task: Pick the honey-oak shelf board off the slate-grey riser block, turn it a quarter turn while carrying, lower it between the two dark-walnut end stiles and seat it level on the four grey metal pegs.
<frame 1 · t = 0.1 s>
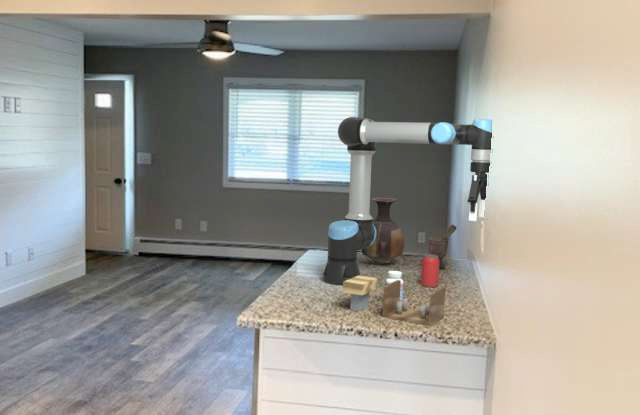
hand: (477, 218, 224), 28 cm above the worktop, fingers open, 13 cm apart
beer can: (429, 286, 235), on the worktop
vase: (381, 264, 274), on the worktop
shelf board: (360, 290, 201), point 6 cm above the worktop, touching riser block
peg frame: (413, 317, 192), on the worktop
pill bottle: (393, 304, 207), on the worktop
riser block: (359, 307, 201), on the worktop
mortar and pestle: (440, 268, 271), on the worktop
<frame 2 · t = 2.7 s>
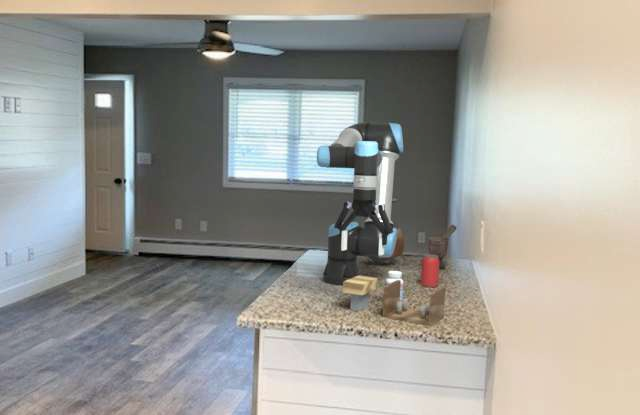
hand: (362, 252, 199), 19 cm above the worktop, fingers open, 13 cm apart
nothing on the worktop moved.
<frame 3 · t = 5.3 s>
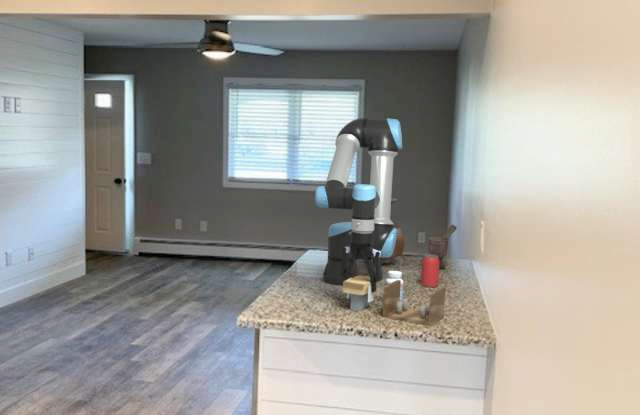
hand: (359, 299, 201), 3 cm above the worktop, fingers closed on shelf board, 7 cm apart
shelf board: (360, 290, 201), point 6 cm above the worktop, touching gripper, riser block
everything else where it was.
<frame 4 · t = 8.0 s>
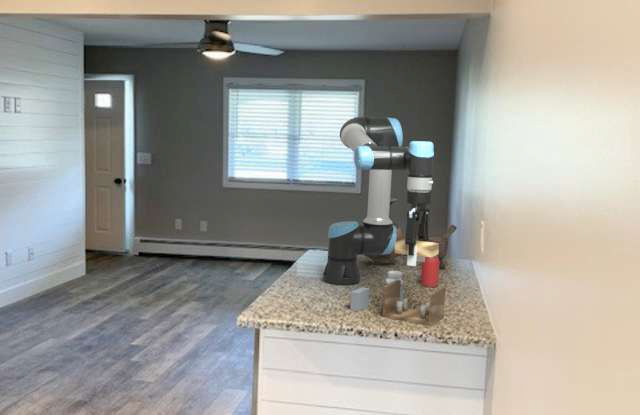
hand: (416, 263, 190), 18 cm above the worktop, fingers closed on shelf board, 7 cm apart
shelf board: (416, 253, 189), point 21 cm above the worktop, touching gripper
everything else where it was.
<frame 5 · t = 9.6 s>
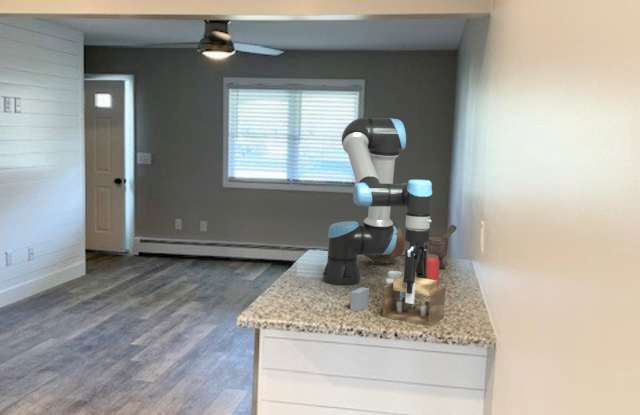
hand: (414, 300, 191), 6 cm above the worktop, fingers closed on shelf board, 7 cm apart
shelf board: (414, 290, 191), point 9 cm above the worktop, touching gripper
everything else where it was.
when the fingers open (3 cm above the worktop, at t = 10.9 s): shelf board drops 1 cm, resting on peg frame.
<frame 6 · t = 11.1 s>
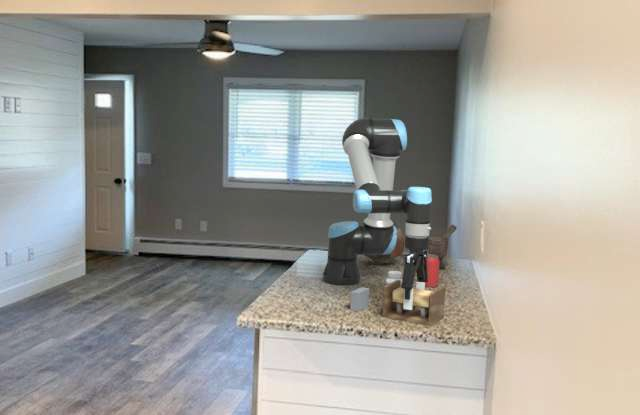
hand: (413, 305, 192), 4 cm above the worktop, fingers open, 10 cm apart
shelf board: (414, 301, 191), point 5 cm above the worktop, touching peg frame
everything else where it was.
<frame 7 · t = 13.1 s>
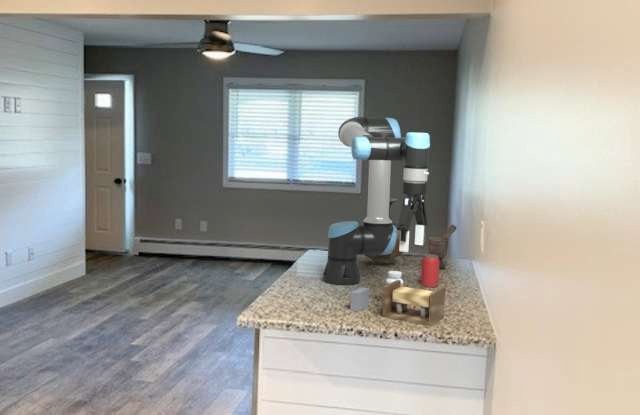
hand: (411, 248, 192), 22 cm above the worktop, fingers open, 13 cm apart
nothing on the worktop moved.
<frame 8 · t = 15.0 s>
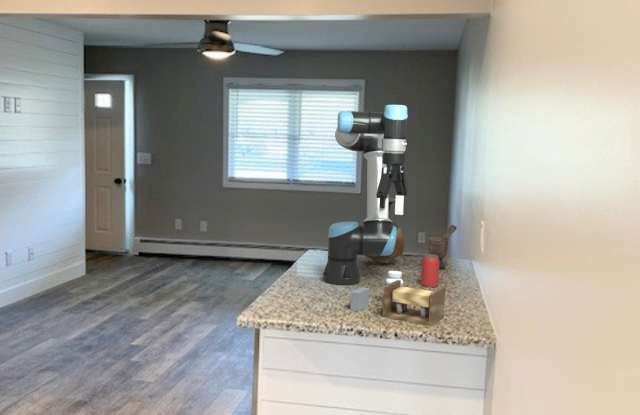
hand: (391, 216, 200), 31 cm above the worktop, fingers open, 13 cm apart
nothing on the worktop moved.
at the end: shelf board 0.1 cm off-centre on the peg frame, point 5.0 cm above the peg frame's base; shelf board tilted 0°; the gripper is holding nothing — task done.
